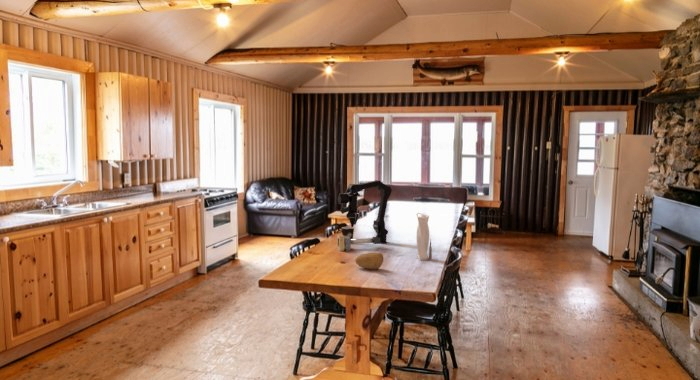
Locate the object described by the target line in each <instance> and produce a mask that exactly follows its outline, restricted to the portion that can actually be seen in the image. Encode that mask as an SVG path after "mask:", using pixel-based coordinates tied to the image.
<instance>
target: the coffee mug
mask: <svg viewBox="0 0 700 380" xmlns="http://www.w3.org/2000/svg"><path fill="white" fill-rule="evenodd" d="M354 230H355V227H354V226H353V227H351V226H342V227H341V230H340V229H339V230H337V231H336V235H337V234H339V232H341V234H342V235H343V236H348V237H350V238H351V239H354V232H355V231H354Z"/></svg>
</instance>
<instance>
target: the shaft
mask: <svg viewBox="0 0 700 380" xmlns="http://www.w3.org/2000/svg"><path fill="white" fill-rule="evenodd" d="M352 244H353V245H354V244H355V245H356V244H373V245H381V243H380V237H376V236H372V238H370V237H368V238H367V237H366V238H353V239H351V245H352Z"/></svg>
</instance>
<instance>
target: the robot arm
mask: <svg viewBox="0 0 700 380" xmlns="http://www.w3.org/2000/svg"><path fill="white" fill-rule="evenodd" d="M371 188H377V190H379V195H380V201H379V207H378V211H377V212H378V213H377V217H376V220H373V224H372V227H373V228H372V229H373V230H374V232H375V233H376V235H375V237H380V244H387V243H388V242H387V235H388V233H389V230H388V229H387V228H386V222H385V216H386V211H387V205H388V201H389V200H388V199H389V198H390V197H391V195H392V191H393V190H392V188H391V186H388V185H387V184H384V183H383V182H382V181H381V180H378V179H377V180H376V179H375V180H373V181H367V182H363V183H349V184H348V186H347V189H346V190H345V192H344V193H338V196H337V204H338V205H342V204H343V205H345V204H347V206H345V207H344V206H342V207H341V209H340V213H341V214H342V215H344V214H345V213H346V215H345V216H346V218H347V219H348V220H349V222H350V227H354V226H356V224H357V223H358V219H359V217H360V214H361V210H360V209H359V208H358V206H359V203H358V197H360V196H361V194H360V193H359V192H361V191H363V190H365V189H366V190H367V189H371Z"/></svg>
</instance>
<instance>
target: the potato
mask: <svg viewBox="0 0 700 380" xmlns="http://www.w3.org/2000/svg"><path fill="white" fill-rule="evenodd" d="M354 262H355V264H357V265H358V267H360V268H363V269H365V270H370V271H371V270H378V269H380V268H381V267H382V265H383V263H384V255H383V254H382V253H381V252H371V251H370V252H366V253H362V254H359V255H357V257H355V260H354Z"/></svg>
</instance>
